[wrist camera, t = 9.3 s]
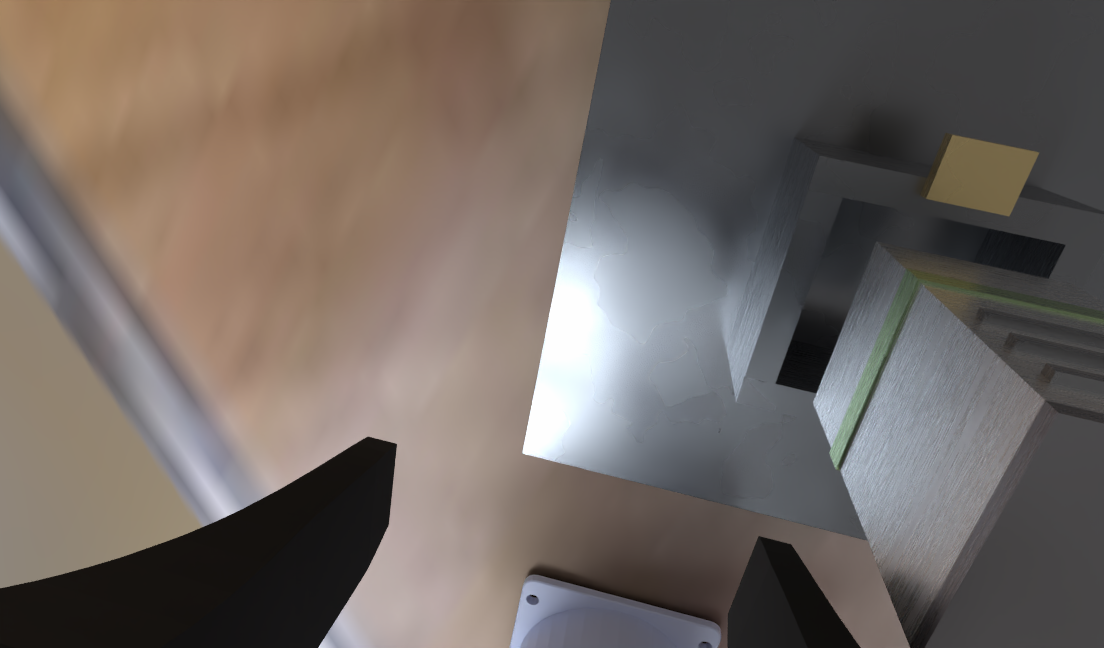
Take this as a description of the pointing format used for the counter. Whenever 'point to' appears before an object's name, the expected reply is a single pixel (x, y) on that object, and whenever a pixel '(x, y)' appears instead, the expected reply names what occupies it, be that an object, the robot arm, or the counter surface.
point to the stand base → (797, 217)
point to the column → (974, 448)
